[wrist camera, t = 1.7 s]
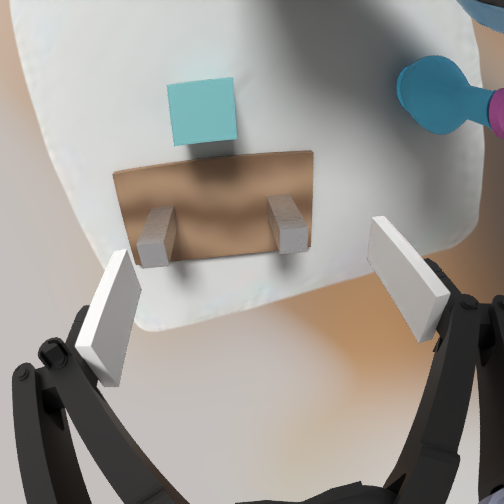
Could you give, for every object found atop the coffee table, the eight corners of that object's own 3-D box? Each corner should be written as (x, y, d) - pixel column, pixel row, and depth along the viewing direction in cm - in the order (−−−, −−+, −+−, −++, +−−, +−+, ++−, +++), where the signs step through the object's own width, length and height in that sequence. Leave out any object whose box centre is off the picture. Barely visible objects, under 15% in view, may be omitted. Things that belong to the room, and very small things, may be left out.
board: (115, 171, 32) (112, 174, 31) (310, 150, 33) (313, 152, 32) (137, 260, 38) (135, 265, 37) (308, 242, 40) (310, 246, 39)
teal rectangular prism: (178, 83, 28) (166, 85, 21) (229, 77, 28) (232, 77, 22) (183, 130, 30) (174, 146, 24) (232, 125, 31) (237, 139, 24)
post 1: (151, 208, 34) (136, 245, 27) (173, 205, 34) (163, 241, 27) (155, 228, 35) (143, 268, 28) (177, 226, 35) (169, 265, 29)
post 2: (266, 195, 34) (279, 229, 28) (289, 194, 35) (308, 227, 28) (267, 216, 36) (280, 254, 29) (289, 214, 36) (307, 251, 29)
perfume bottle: (405, 137, 33) (489, 182, 20) (374, 71, 28) (463, 83, 16) (454, 108, 31) (539, 141, 18) (428, 44, 26) (520, 52, 14)
